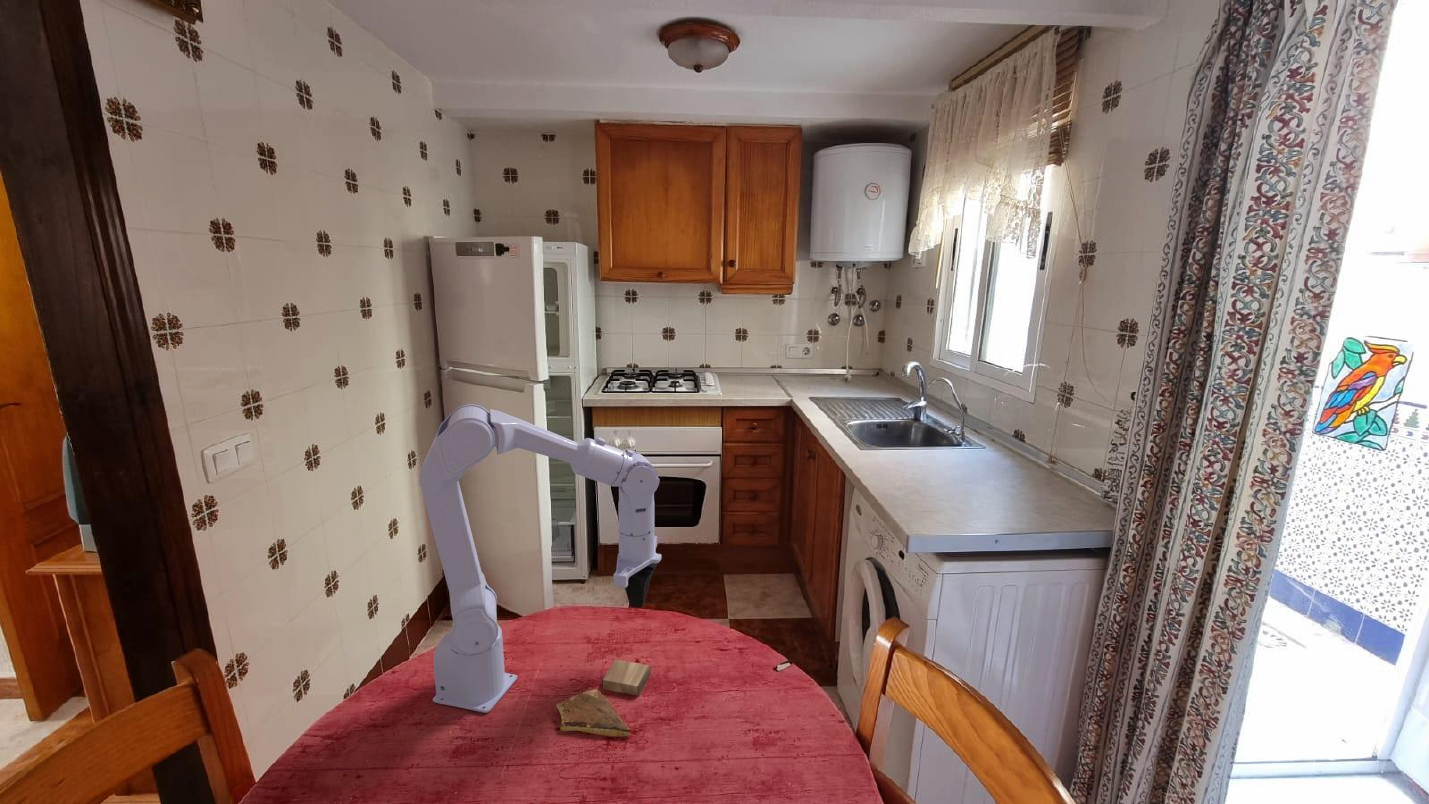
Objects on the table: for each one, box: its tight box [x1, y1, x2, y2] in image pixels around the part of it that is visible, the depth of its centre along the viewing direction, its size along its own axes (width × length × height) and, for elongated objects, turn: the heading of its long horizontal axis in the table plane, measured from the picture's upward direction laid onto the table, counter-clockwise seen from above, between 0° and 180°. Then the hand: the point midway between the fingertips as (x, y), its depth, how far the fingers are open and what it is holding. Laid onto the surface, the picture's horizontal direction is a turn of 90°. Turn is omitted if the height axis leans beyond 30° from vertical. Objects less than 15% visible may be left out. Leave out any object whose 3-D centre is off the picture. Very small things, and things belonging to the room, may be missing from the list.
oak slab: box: [602, 659, 652, 697], centre depth 90 cm, size 2×5×6 cm
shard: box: [555, 689, 632, 738], centre depth 81 cm, size 11×8×2 cm
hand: (637, 605), depth 95 cm, fingers closed
